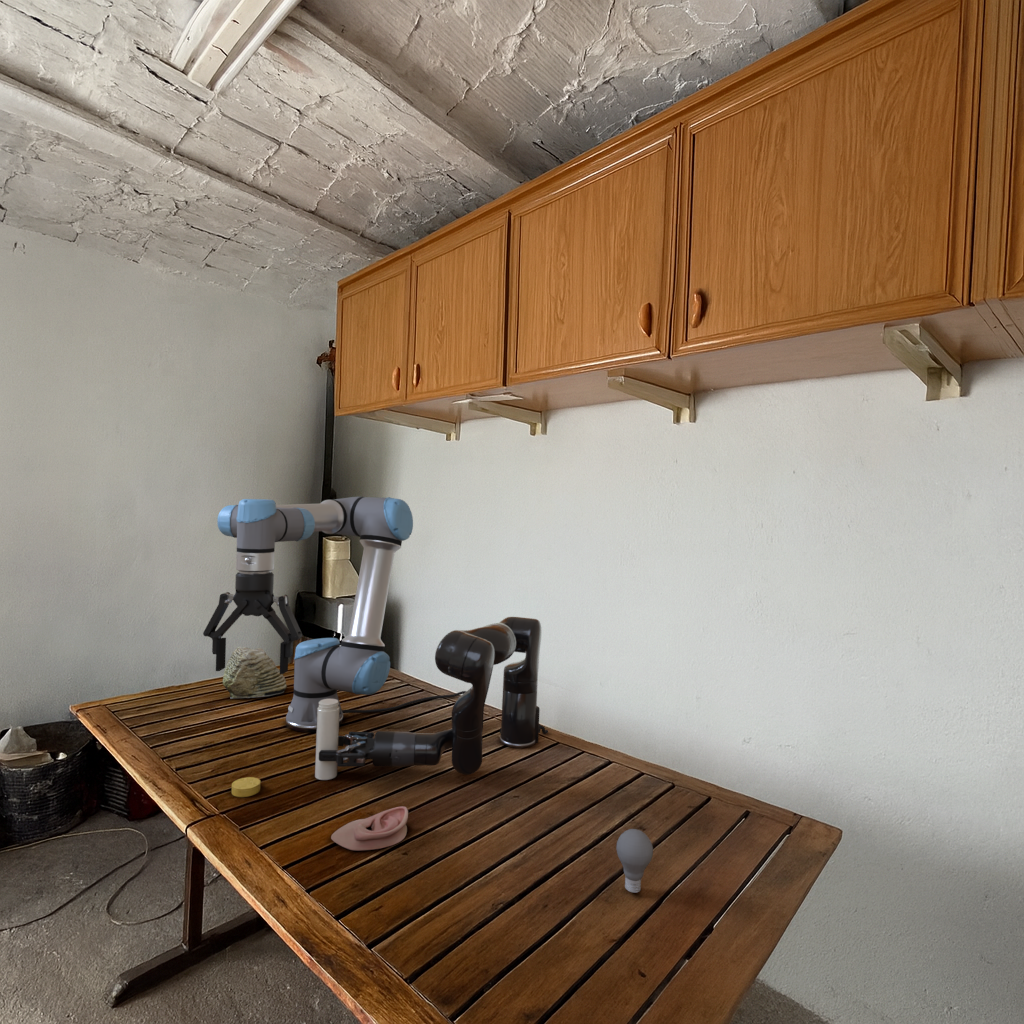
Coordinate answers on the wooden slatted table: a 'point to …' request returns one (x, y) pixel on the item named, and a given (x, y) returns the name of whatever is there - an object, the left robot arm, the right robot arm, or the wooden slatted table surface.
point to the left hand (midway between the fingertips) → (252, 671)
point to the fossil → (252, 674)
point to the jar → (327, 737)
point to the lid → (245, 787)
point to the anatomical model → (374, 830)
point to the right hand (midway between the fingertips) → (323, 747)
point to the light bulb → (634, 857)
